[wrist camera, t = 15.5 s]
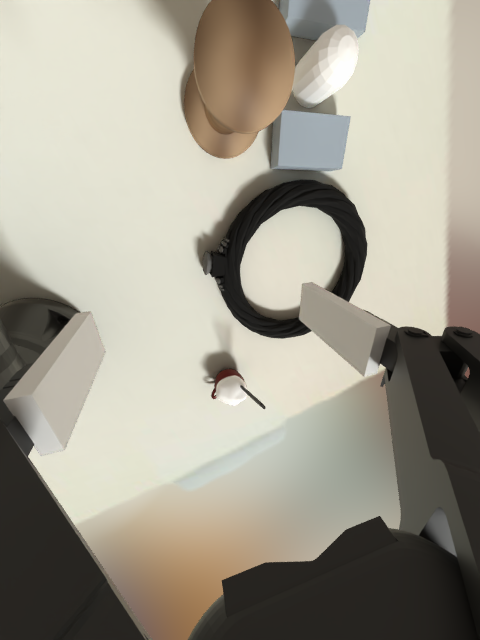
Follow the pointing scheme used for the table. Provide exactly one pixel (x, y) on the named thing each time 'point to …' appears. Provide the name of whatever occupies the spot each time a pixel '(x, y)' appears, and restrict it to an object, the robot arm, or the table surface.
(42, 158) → the table surface
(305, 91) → the capsule
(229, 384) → the cocoa
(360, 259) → the cable lock
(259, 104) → the knob
